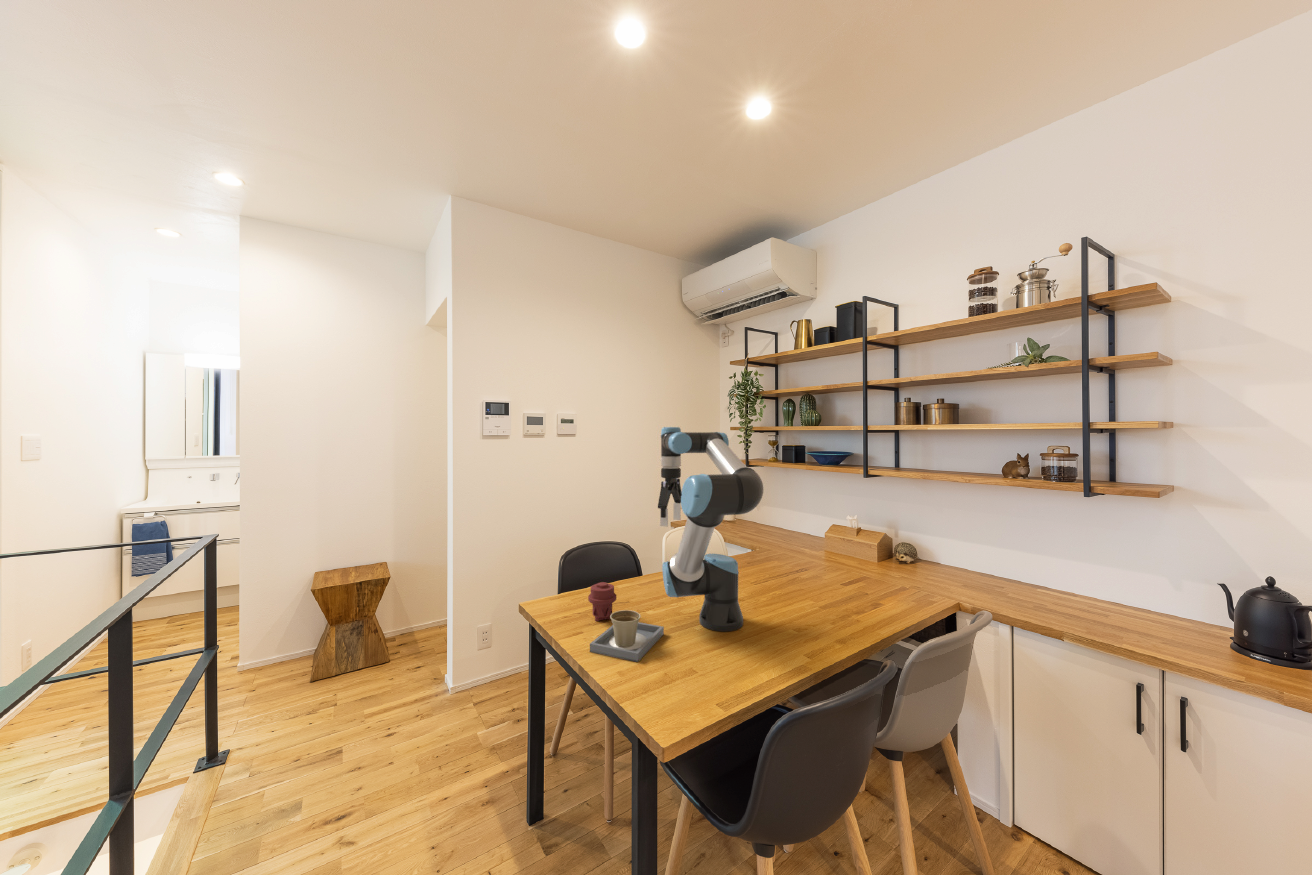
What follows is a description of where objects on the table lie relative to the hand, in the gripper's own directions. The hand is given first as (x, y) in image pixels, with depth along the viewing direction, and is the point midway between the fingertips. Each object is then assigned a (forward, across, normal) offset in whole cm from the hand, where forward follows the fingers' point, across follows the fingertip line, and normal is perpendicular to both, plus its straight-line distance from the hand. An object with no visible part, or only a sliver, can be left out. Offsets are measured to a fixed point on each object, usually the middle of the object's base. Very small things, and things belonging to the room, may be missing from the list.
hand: (670, 522), depth 177 cm
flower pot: (+31, +36, -1) cm, 48 cm away
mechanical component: (+32, +21, -18) cm, 42 cm away
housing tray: (+32, +34, -1) cm, 47 cm away
